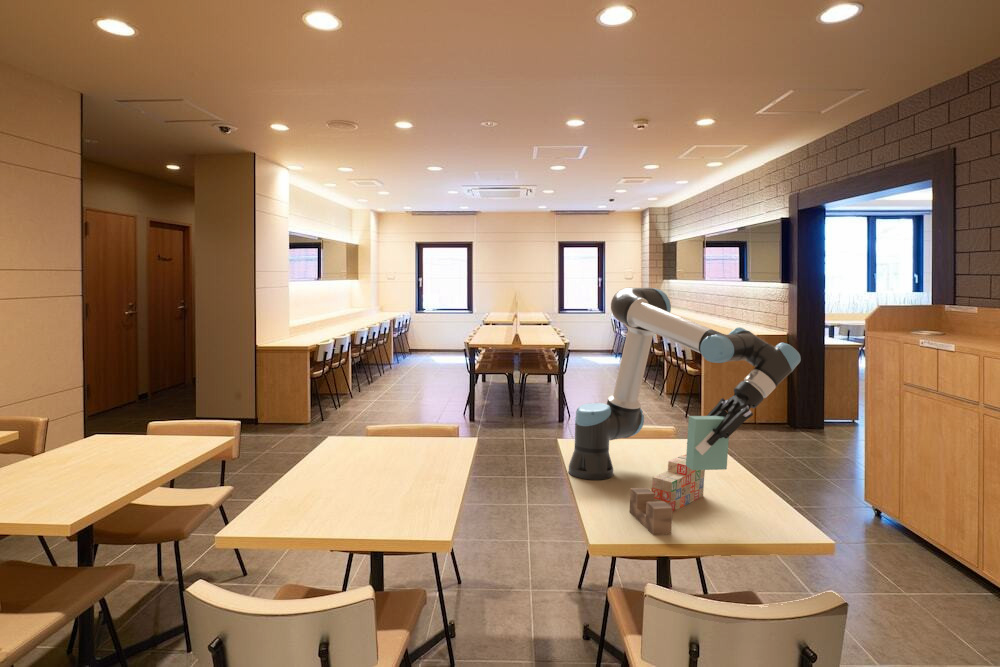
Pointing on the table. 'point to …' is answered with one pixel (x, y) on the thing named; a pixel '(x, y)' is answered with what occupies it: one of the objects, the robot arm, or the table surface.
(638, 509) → the staggered wooden block
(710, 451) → the rectangular block
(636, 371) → the robot arm
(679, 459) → the stack of blocks
